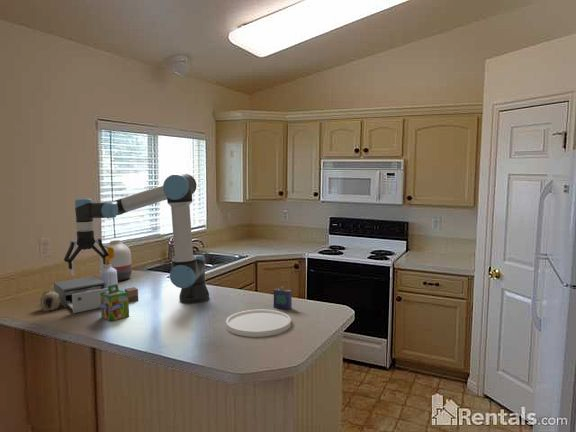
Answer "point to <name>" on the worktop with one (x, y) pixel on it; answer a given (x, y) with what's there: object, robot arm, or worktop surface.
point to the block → (132, 294)
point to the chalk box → (114, 304)
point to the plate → (258, 323)
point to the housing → (76, 287)
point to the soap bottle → (109, 270)
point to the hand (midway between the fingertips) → (87, 273)
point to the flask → (282, 298)
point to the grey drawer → (85, 298)
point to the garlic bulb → (50, 300)
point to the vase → (120, 259)
